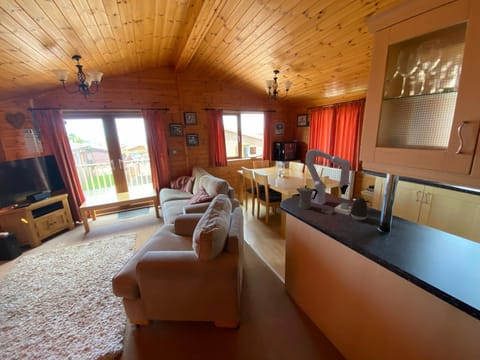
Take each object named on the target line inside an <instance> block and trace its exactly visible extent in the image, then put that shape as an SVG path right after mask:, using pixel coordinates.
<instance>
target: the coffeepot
mask: <svg viewBox="0 0 480 360" xmlns="http://www.w3.org/2000/svg"><path fill="white" fill-rule="evenodd" d="M295 190H297V192H298V194H299V197H300V198H299V201H298V208H299V209H301V210H302V209H303V210H309V209H311V207H312V206H311V205H312V204H311V200H312V199H315V197H316V195H317V193H318V191H317V190H316V189H315V188H311V187H308V186H307V185H304V186H303V187H299V188H298V187H297V188H296V189H295ZM313 191H315V195H314V198H312V193H313Z"/></svg>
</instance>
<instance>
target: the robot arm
mask: <svg viewBox="0 0 480 360" xmlns="http://www.w3.org/2000/svg"><path fill="white" fill-rule="evenodd" d="M319 157H321V158H323V159H325V160H329V161H330V162H331V164H333V165H336V166H338V167H341V169H340V176H339V177H340V178H339V179H340V181H339V184H338V188H339V189H340V193H341V195H345V194H346V192H347V190H348V188H349V186H350V185H351V182H350V172H351V171H350V170H351V161H350V160H348V159H346V158H343V157H340V156H339V155H334V156H332V155H331V154H328V153H326V152H324V151H323V150H319V149H317V148H312V149H310V150H308V151H307V152H306V154H305V161H304V162H305V165H306V167H307V169H308V172H309V173H310V176H311V177H312V181H313V184H314V189H316V190H317V191H318V193H317V195H316V197H315V199H312V198H314V195H315V191H312V192H311V200H310V203H314V204H319V205H324V204H325V203H327V201H325V196H326V191H325V189H326V188H327V186H326V185H325V183H324V182H323V180H321V177H320V175H319V173H318V170H317V168H316V166H315V164H314V162H313V161H314V160H315V158H319Z"/></svg>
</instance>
